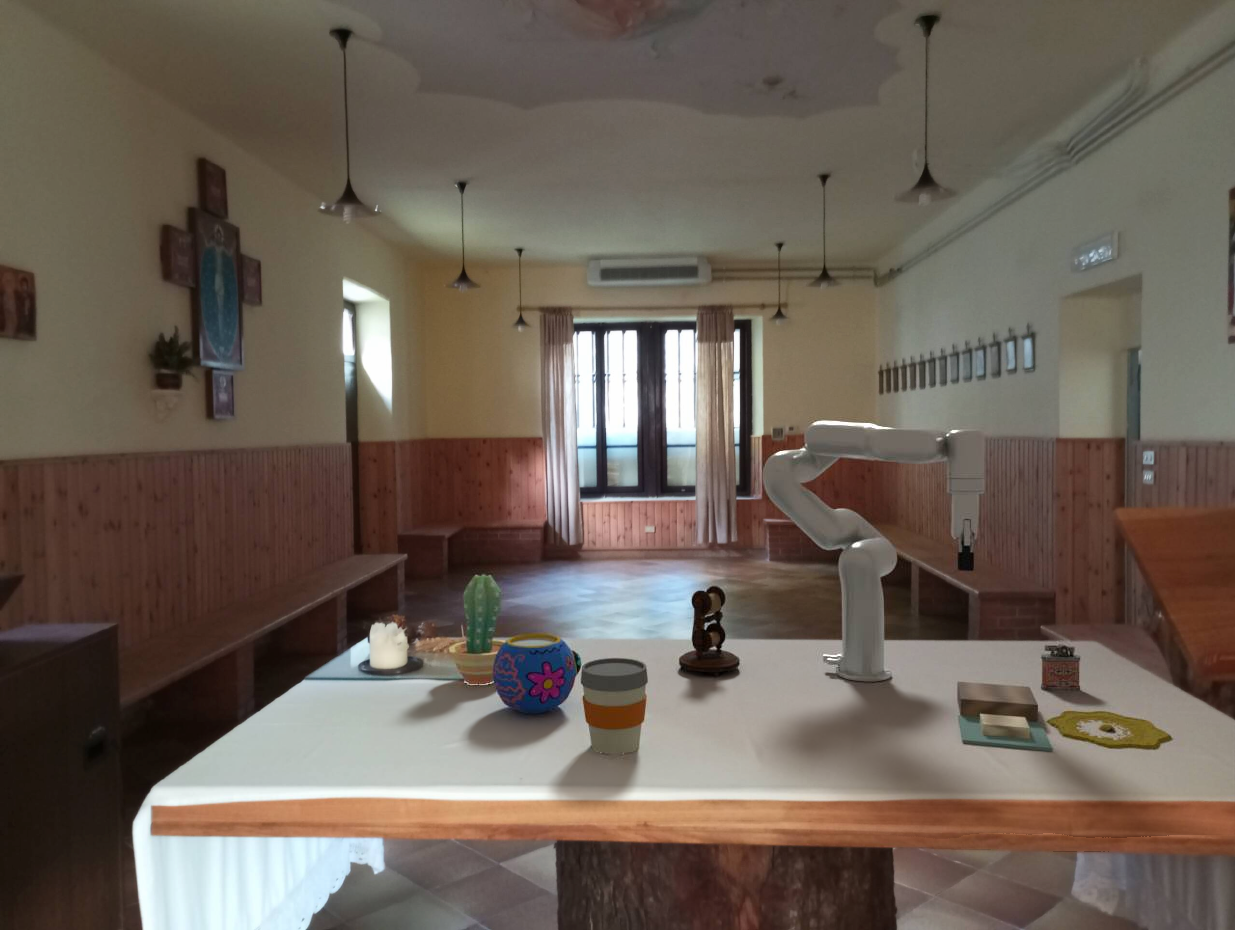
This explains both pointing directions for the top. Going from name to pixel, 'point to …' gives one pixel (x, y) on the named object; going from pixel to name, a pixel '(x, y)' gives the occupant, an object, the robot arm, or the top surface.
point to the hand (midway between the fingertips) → (965, 569)
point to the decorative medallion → (1141, 729)
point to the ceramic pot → (535, 672)
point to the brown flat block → (996, 700)
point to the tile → (1004, 726)
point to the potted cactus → (479, 631)
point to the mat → (974, 735)
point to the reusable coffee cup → (614, 703)
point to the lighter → (1060, 669)
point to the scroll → (708, 635)
